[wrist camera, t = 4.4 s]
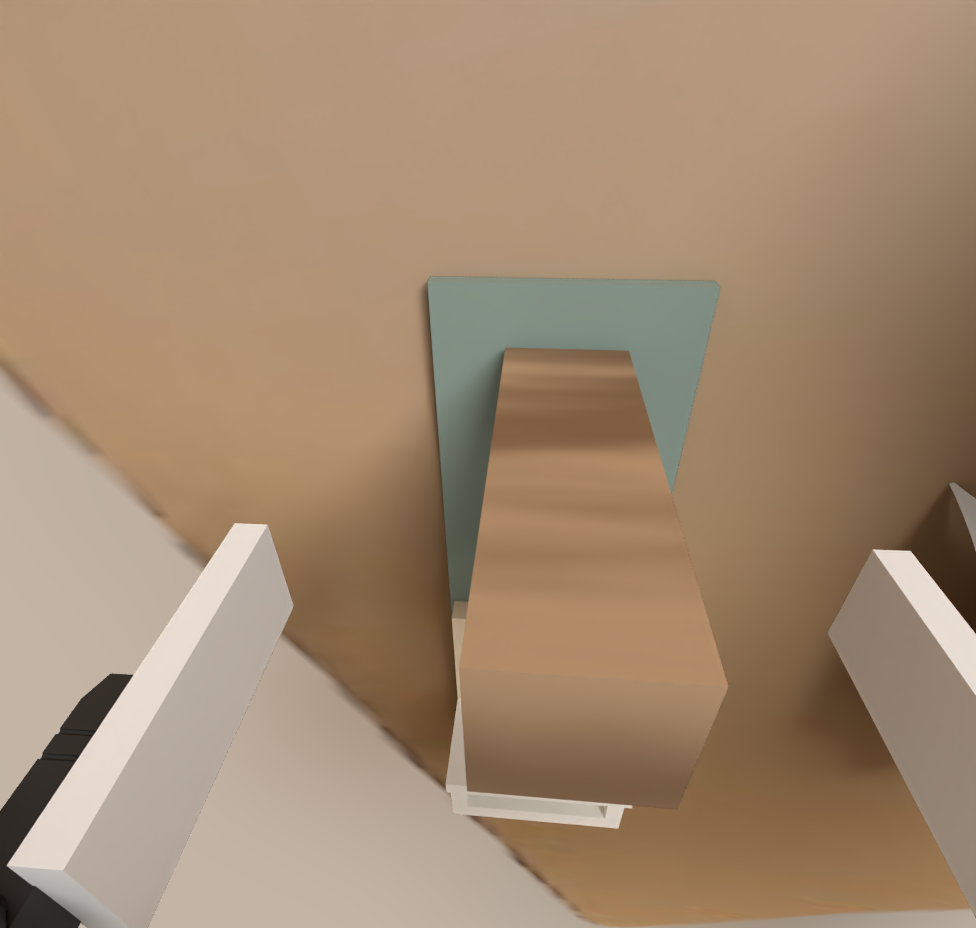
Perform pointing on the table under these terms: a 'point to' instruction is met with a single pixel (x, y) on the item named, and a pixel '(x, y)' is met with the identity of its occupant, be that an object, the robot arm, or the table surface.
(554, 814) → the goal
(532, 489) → the tan l-shaped block
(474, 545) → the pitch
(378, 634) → the table surface
